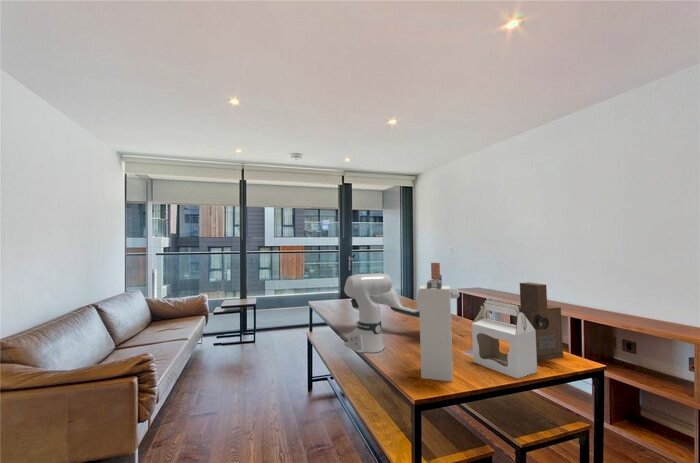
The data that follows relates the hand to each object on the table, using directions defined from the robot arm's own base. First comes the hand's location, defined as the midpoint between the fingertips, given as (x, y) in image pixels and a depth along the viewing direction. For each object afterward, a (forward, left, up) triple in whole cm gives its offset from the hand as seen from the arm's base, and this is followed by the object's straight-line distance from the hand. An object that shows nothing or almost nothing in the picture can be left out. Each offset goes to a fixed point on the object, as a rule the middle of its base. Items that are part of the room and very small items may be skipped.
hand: (438, 289), depth 166 cm
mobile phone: (+17, +8, -31) cm, 36 cm away
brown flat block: (+13, -22, +6) cm, 27 cm away
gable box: (+33, -3, -30) cm, 45 cm away
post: (+18, -31, -30) cm, 47 cm away
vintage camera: (+39, +21, -30) cm, 54 cm away
